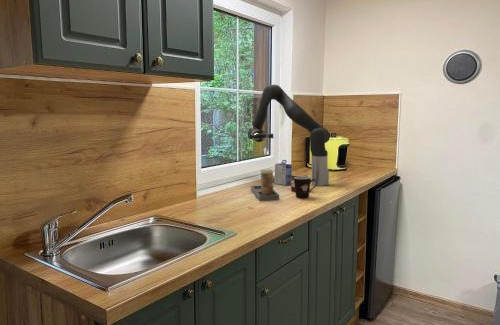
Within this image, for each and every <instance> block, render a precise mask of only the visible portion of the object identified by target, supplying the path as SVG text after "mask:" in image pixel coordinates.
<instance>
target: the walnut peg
mask: <svg viewBox="0 0 500 325" xmlns="http://www.w3.org/2000/svg"><path fill="white" fill-rule="evenodd" d="M273 172H274V171H273V170H272V169H268V168H267V169H260V180H261V182H260V183H261V184H260V186H261V195H273V190H274V173H273Z"/></svg>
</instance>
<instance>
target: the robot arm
mask: <svg viewBox="0 0 500 325" xmlns="http://www.w3.org/2000/svg"><path fill="white" fill-rule="evenodd" d="M272 100H274V101H276V102H277V103H279V105H281V106H282V108H283V110H284V112H285V114H286V116H287V117H288V118H289V119H290V120H291V121H292V122H293V123H295V124H296V125H298V126H300V127H301V128H303V129H305V130H306V131H308V132H309V133H310V134H309V150H310V152H311V180H313V179H315V180H317V186H316V187H318V186H319V187H325V186H328V185H329V182H330V180H329V179H330V177H329V174H330V173H329V172H330V170H329V168H328V165H329V164H328V158H329V157H328V154H329V153H328V150H327V149H326V145H325V144H326V143H328V142H329V141H330V137H331V135H330V132H329V131H328V129H326V128H325V126H323V125H321V124H320V123H318V122H317V121H316V120H315V119H314V118H313V117H312V116H310V115H309V114H308V113H307V112H306V111H305V110H304V109H303V108H302V106H300V104H298V103H297V102H296V101H294V99H292V98H291V97H290V96H289V95H288V94H287V93H286V92H285V90H283V89H282V87H281V86H279V84H267V85H266V86H264V88H263V91H262V94H261V98H260V102H259V105H258V108H257V111H256V114H255V116H254V119H253V121H252V126H253V127H254V128H252V127H249V128H250V129H249V132H248V138H247V139H249V140H253V141H254V142H256V143H261V142H264V141H265V140H268V139H274V133H267V132H265V131H264V130H263V126H264V125H265V122H266V120H267V118H268V117H267V116H268V108H269V105H270V103H271V101H272ZM255 128H256V129H255ZM311 185H312V186H315V185H316V181H314V180H313V181H312V182H311Z"/></svg>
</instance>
